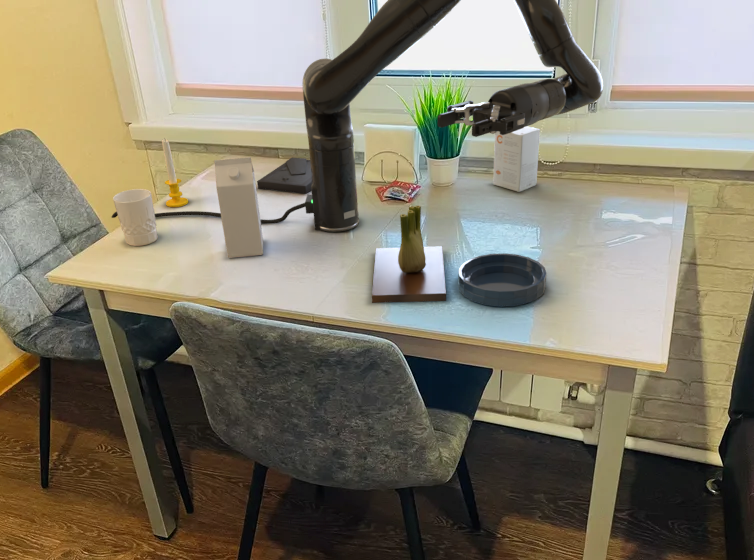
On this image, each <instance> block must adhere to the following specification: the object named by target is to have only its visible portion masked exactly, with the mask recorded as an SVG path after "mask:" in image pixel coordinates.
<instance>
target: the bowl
mask: <svg viewBox="0 0 754 560" xmlns="http://www.w3.org/2000/svg"><path fill="white" fill-rule="evenodd" d="M457 272H458V274H457V275H458V279H457V287H458V291H459V292H460V294H461V295H462V296H463V297H464V298H466V299H468V300H470V301H471V302H474V303H477V304H480V305H484V306H491V307H517V306H521V305H526V304H528V303H531V302H534V301H536V300H538V299H539V298H540V297H542V296H543V295H544V293H545V290H546V289H547V288H546V286H547V276H548V275H547V274H548V273H547V270H546V267H545V266H544V265H543V264H542V263H540V261H538V260H535V259H533V258H531V257H529V256H524V255H520V254H514V253H488V254H482V255H478V256H475V257H473V258H470V259H467V260H466V261H465V262H463V263H462V264H461V265H460V266H459V269H458V271H457Z"/></svg>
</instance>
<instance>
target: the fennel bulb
mask: <svg viewBox="0 0 754 560" xmlns="http://www.w3.org/2000/svg"><path fill="white" fill-rule="evenodd" d="M421 213H422V206H421V205H414V206H413V205H411V206H408V209H407V214H405V213H400V215H399V217H400V218H399V219H400V234H401V235H400V239H401V241H400V247H399V248H400V250H399V256H398V263H399V266H400V269H401V270H402V271H403V272H404V273H411V272H412V273H413V272H420V271H422V270H423V269H424V268H425V266H426V263H425V261H426V258H425V253H424V248H423V247H424V241H423V235H422V230H421V229H422V228H421V219H422V217H421V215H422V214H421Z"/></svg>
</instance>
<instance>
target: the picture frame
mask: <svg viewBox="0 0 754 560" xmlns="http://www.w3.org/2000/svg"><path fill="white" fill-rule="evenodd" d="M256 183H257V184H256V186H257V189H258V190H267V191H275V192H286V193H296V194H304V195H306V194H307V195H308V193H309V192H311V186H312V174H311V163H310V159H307V158H303V157H291V158H289V159H287V160H286V161H285V162H284V163H282V164H281V165H279V166H278V167H276V168H275V169H273V170H272V171H270V172H269V173H267V174H266V175H264V176H263V177H261V178H260V179H258V180H256Z"/></svg>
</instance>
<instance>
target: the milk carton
mask: <svg viewBox="0 0 754 560" xmlns="http://www.w3.org/2000/svg"><path fill="white" fill-rule="evenodd" d="M213 162H214V174H215V175H214V176H215V187H216V194H217V200H218V205H219V213H221V217H220V218H221V224H222V230H223V236H224V237H223V238H224V243H225V247H226V248H225V249H226V254H227V255H226V256H227V258H229V259H231V258H232V259H233V258H242V257H243V258H245V257H254V256H262V255H263V254H264V237H263V227H262V223H261V220H260V219H261V213H260V207H259V206H260V205H259V200H258V199H259V197H258V192H257V184H256V183H257V182H256V177H255V170H254V166H253V162H252V157H251V156H247V157H246V156H245V157H233V158H224V159H214V160H213Z"/></svg>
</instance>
